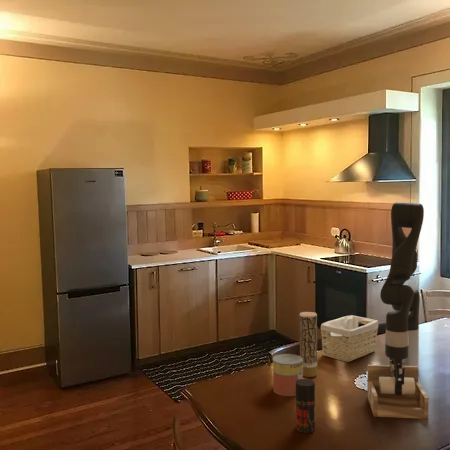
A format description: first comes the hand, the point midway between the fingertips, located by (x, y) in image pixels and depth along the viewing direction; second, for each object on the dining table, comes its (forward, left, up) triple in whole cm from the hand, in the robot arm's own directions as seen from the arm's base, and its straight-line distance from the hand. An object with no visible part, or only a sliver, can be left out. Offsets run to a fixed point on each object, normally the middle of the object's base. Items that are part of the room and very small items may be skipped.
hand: (396, 390), depth 176 cm
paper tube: (-28, -29, -6) cm, 41 cm away
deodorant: (+18, -31, -6) cm, 36 cm away
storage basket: (-55, -10, -6) cm, 57 cm away
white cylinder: (0, 0, +2) cm, 2 cm away
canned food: (-12, -37, -6) cm, 39 cm away
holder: (0, 0, -6) cm, 6 cm away
